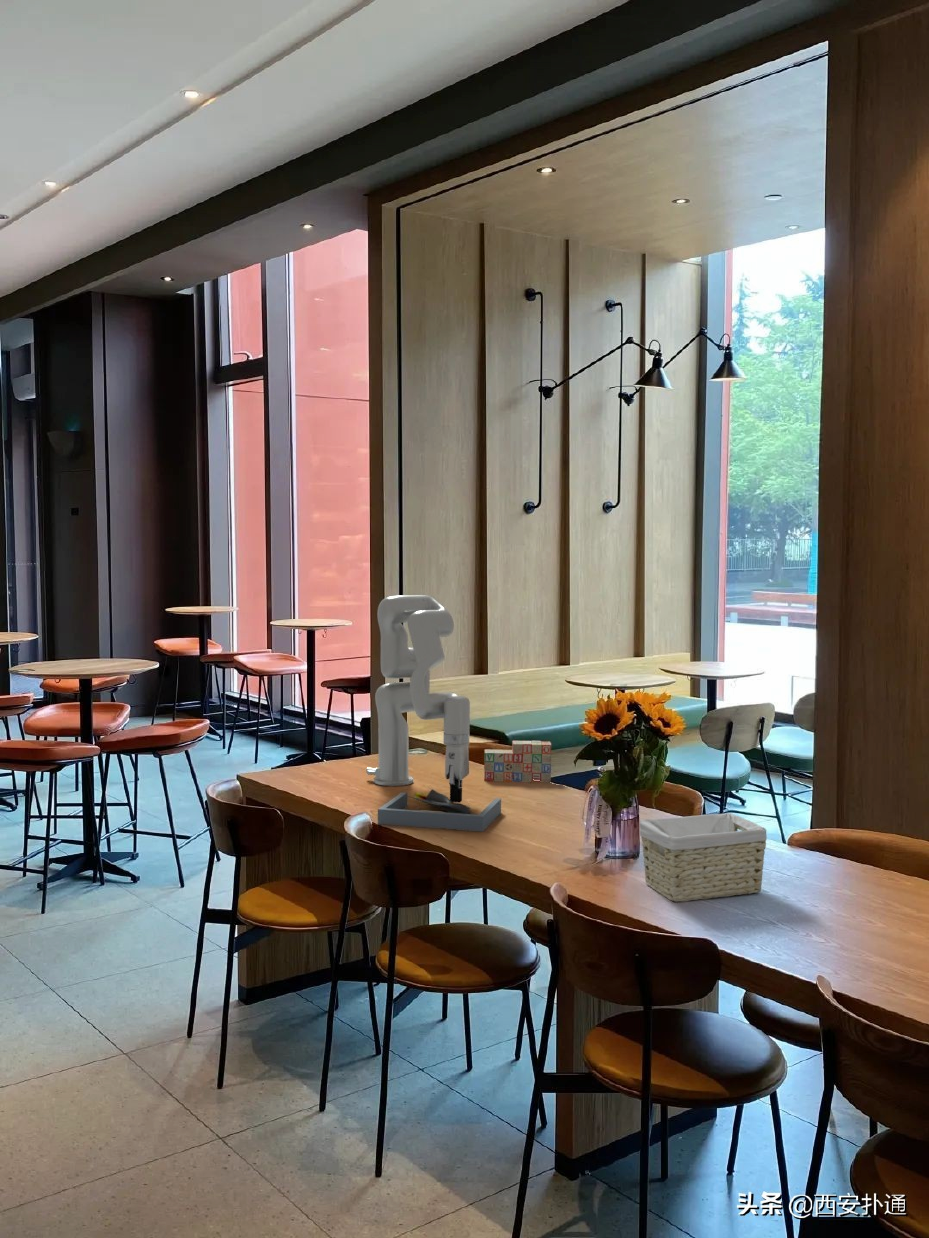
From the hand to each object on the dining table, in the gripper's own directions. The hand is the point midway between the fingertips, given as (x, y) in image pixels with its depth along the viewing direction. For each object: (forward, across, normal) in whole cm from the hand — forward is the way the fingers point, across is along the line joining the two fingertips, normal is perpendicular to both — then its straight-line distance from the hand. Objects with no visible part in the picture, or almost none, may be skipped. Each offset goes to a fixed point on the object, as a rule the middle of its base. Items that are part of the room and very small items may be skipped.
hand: (455, 801), depth 319 cm
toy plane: (+1, -7, +2) cm, 7 cm away
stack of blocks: (+1, +38, -10) cm, 40 cm away
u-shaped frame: (+1, -16, 0) cm, 17 cm away
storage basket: (+1, -60, -73) cm, 95 cm away
